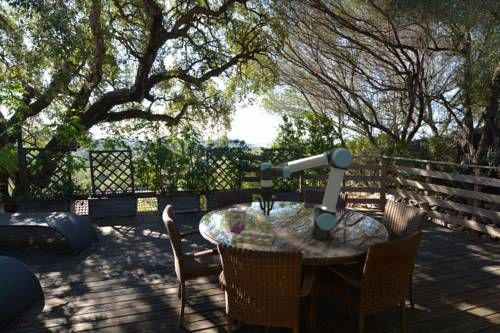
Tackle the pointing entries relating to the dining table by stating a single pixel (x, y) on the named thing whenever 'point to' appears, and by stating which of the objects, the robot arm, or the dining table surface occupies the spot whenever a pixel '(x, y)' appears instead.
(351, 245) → the dining table surface
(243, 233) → the key sage
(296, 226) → the dining table surface
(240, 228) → the candy bar box
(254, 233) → the key slate
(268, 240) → the keypad
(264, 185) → the robot arm
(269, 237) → the key charcoal
